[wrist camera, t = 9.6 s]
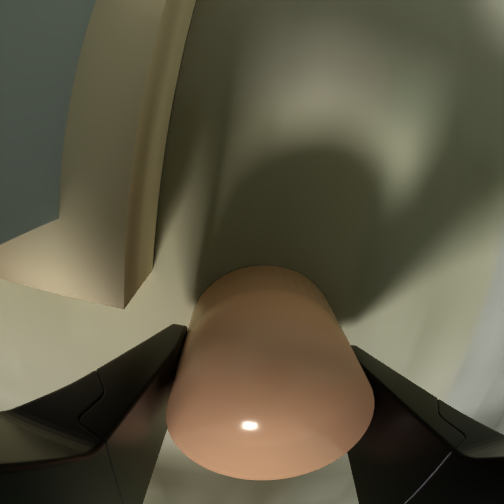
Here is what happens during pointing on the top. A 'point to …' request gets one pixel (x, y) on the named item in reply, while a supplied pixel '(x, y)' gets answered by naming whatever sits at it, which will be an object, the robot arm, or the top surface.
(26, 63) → the blue-grey cube
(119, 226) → the beech slab
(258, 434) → the orange-tan rounded lump
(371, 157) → the top surface
